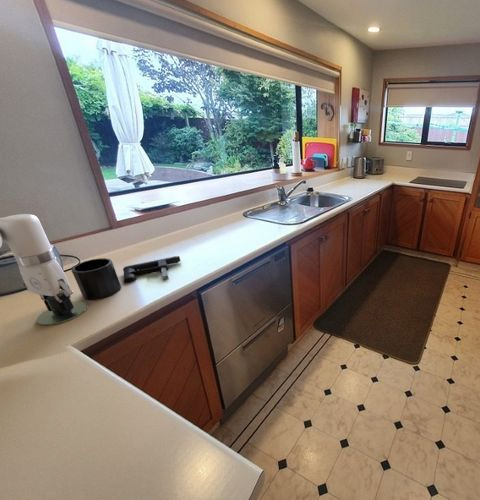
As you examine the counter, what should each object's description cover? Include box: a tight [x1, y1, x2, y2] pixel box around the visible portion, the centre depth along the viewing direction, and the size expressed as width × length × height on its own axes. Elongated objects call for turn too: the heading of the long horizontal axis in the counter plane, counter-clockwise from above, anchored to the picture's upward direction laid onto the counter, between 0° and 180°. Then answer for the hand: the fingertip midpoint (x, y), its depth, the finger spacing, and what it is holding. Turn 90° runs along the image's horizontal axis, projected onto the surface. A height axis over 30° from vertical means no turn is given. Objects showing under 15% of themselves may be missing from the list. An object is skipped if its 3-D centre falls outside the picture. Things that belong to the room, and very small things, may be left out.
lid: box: [36, 293, 89, 327], centre depth 87 cm, size 12×12×7 cm
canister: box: [70, 257, 122, 301], centre depth 98 cm, size 10×10×12 cm
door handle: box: [122, 255, 181, 284], centre depth 114 cm, size 3×20×16 cm
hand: (61, 309), depth 88 cm, fingers closed on lid, 4 cm apart
